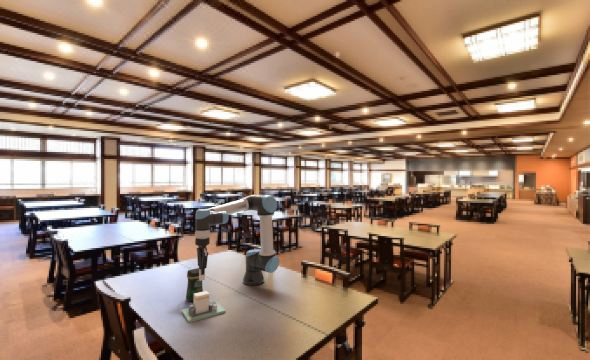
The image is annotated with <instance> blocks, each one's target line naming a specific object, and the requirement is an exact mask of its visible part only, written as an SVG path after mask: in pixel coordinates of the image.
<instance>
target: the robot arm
mask: <svg viewBox="0 0 590 360" xmlns="http://www.w3.org/2000/svg"><path fill="white" fill-rule="evenodd" d="M277 208H278V201H277V199H276V198H275V197H274V196H273V195H269V194H257V193H256V194H255V193H254V194H252V195H248V196H245V197H244V196H243V197H241V198H240V199H237V200H235V201H231V202H227V203H224V204H221V205H217V206H213V207H210V208H199V209H197V210H196V211H195V217H194V219H195V231H194V234H195V241H194V243H195V246H197V247H196V254H197V266H198V268H199V281H202V282H203V281H205V279H206V269H207V266H208V257H209V252H208V248H207V246H209V245H210V242H211V241H210V240H211V239H210V236H211V226H217V225H224V224H227V223H228V222H229V216H230V215H233V214H236V213H239V212H247V211H256V212H257V213H256V215H257V216H258V217H259V232H260V233H259V234H260V238H259V239H260V249H257V248H256V249H255V248H254V249H250V250H247V251H246V253H245V254H246V255H245V272H244V276H243V278H242V284H244V285H246V284H247V286H257V285H256V284H259V285H261V284H260V283H262V282H263V281H264V282H265V278H264V274H263V272H266V273H270V274H273V273H275V272H276V271H277V270H278V268H279V265H280V258H279V257H278V256H277V255H276V252H277V251H276V250H274V237H273V236H274V235H273V231H274V230H273V216H274V214H275V212H276V211H277ZM264 282H263V283H264ZM263 283H262V284H263Z"/></svg>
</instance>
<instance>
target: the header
mask: <svg viewBox="0 0 590 360" xmlns="http://www.w3.org/2000/svg"><path fill="white" fill-rule="evenodd" d="M188 308H189V313H190V315H191V316H192V317H195V316H198V315H202V314H206V313H209V312H213V305H212V304H211V303H210V301H209V311H206V312H202V313H199V314H195V310H194V308H193V304H190V305H188Z"/></svg>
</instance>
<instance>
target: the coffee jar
mask: <svg viewBox="0 0 590 360" xmlns="http://www.w3.org/2000/svg"><path fill="white" fill-rule="evenodd" d="M186 278H187V289H186V295H185V299H186V300H187V301H188V302H194V298H193V297H194V293H199V292H203V289H204V288H203V280H202V281H199V267H197V268H196V267H195V268H193V269H188V270H187V272H186Z"/></svg>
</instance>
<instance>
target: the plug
mask: <svg viewBox="0 0 590 360" xmlns="http://www.w3.org/2000/svg"><path fill="white" fill-rule="evenodd" d="M193 298H194V301H192V302H193V304H192V305H193V308H194V310H195V314H199V313H202V312H206V311H209V302H210V293H209V292H208V291H207V290H204V291H203V292H199V293H194V297H193Z"/></svg>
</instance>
